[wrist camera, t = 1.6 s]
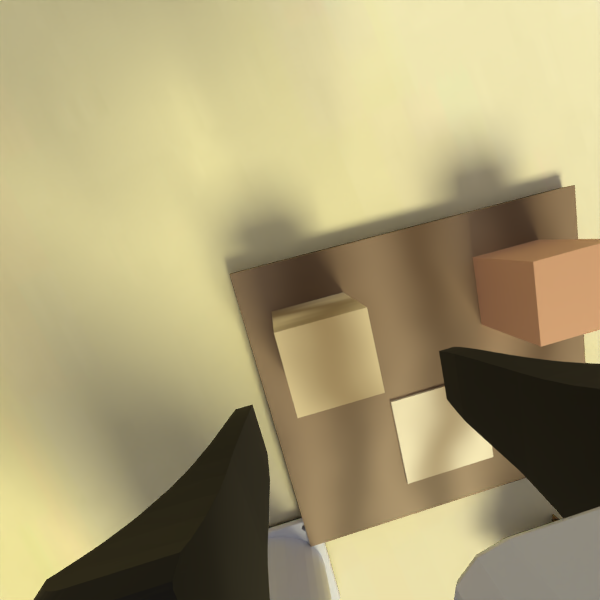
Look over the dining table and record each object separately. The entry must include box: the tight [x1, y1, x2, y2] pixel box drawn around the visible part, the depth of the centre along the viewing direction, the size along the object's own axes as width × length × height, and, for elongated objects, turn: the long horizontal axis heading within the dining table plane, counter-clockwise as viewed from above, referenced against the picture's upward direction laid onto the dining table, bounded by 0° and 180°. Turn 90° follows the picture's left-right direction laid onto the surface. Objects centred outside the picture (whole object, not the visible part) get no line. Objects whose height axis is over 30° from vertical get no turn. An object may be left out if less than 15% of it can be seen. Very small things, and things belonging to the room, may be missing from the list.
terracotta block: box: [473, 239, 600, 347], centre depth 18 cm, size 4×4×4 cm
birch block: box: [272, 292, 385, 418], centre depth 17 cm, size 4×4×4 cm
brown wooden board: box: [230, 185, 585, 547], centre depth 21 cm, size 22×20×1 cm
